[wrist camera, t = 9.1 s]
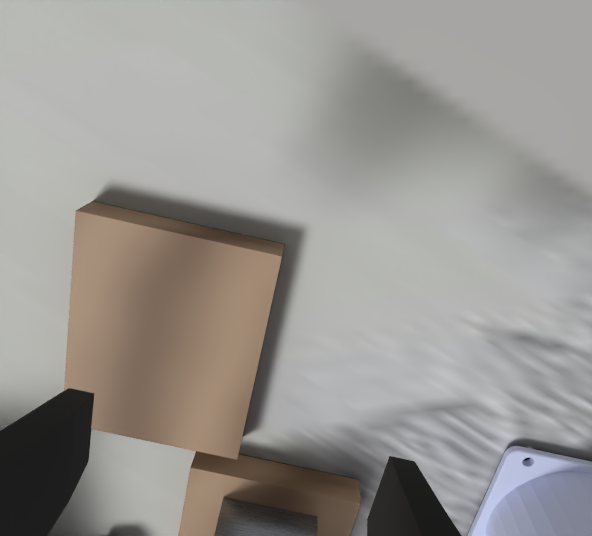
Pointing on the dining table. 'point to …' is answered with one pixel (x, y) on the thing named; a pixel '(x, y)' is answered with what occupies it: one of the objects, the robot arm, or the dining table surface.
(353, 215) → the dining table surface
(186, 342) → the stand
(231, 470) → the stand
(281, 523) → the block
